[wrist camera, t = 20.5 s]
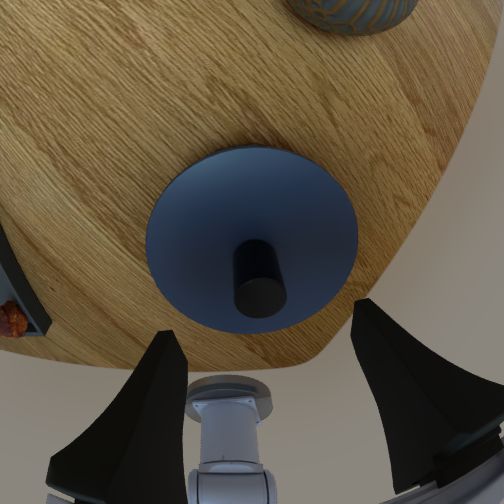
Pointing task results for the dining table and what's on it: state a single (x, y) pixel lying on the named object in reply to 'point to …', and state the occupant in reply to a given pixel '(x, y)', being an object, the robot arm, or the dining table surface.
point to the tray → (20, 291)
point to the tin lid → (251, 239)
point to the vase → (354, 14)
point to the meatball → (12, 320)
